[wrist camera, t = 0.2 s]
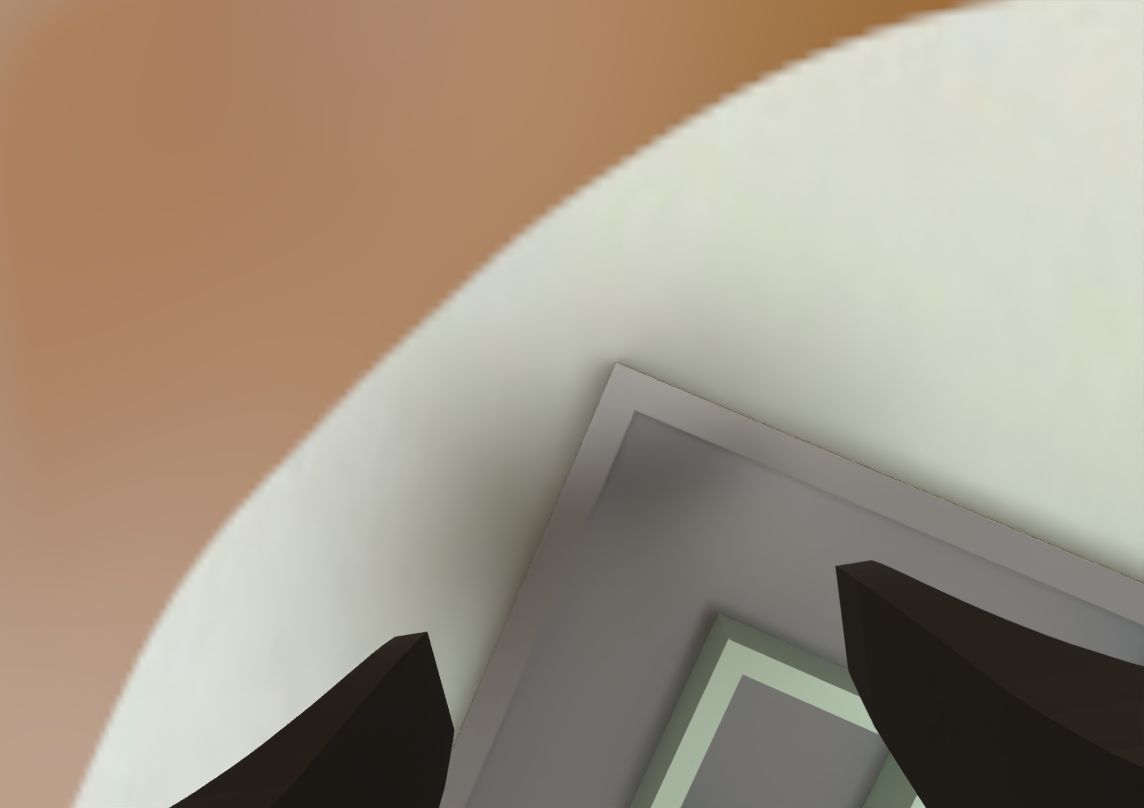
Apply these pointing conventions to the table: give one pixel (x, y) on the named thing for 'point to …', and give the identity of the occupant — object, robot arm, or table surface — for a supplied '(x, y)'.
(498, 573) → the table surface
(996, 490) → the table surface
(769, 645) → the inlet socket
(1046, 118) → the table surface
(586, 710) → the walled box
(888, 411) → the table surface
